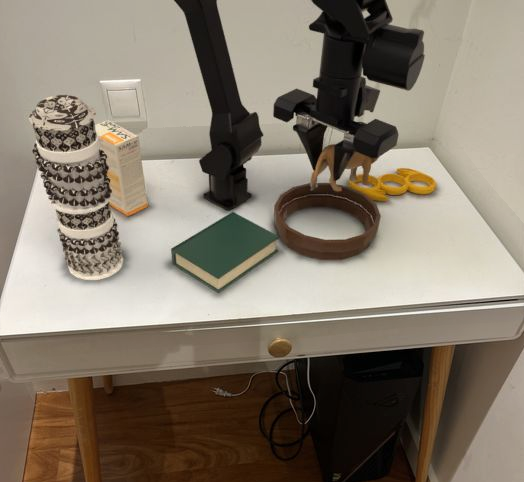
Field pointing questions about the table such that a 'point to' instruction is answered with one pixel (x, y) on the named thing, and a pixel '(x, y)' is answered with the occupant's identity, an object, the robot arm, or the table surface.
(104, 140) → the supplement box
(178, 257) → the book
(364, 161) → the lion figurine
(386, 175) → the novelty glasses
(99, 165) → the decorative candle
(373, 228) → the ring
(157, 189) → the table surface
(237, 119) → the robot arm
